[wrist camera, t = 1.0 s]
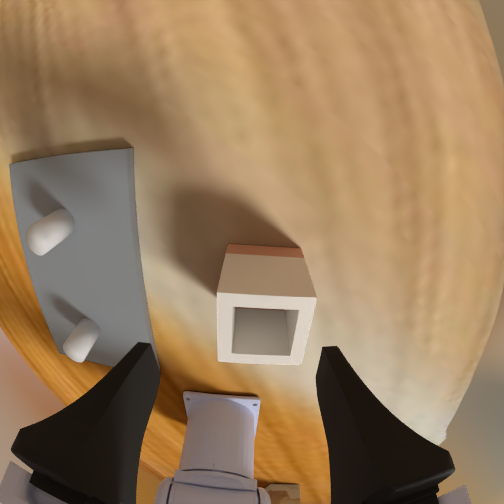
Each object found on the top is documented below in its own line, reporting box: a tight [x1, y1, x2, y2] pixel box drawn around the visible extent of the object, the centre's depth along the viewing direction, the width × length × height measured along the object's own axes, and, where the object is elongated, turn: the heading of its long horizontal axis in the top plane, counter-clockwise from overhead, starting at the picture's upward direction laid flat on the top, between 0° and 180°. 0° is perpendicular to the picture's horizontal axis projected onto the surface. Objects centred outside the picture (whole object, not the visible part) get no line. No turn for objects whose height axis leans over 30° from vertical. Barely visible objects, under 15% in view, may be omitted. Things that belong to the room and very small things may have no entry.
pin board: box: [9, 148, 160, 370], centre depth 19 cm, size 20×12×4 cm, turn 177°
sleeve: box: [217, 244, 317, 365], centre depth 18 cm, size 5×5×6 cm
